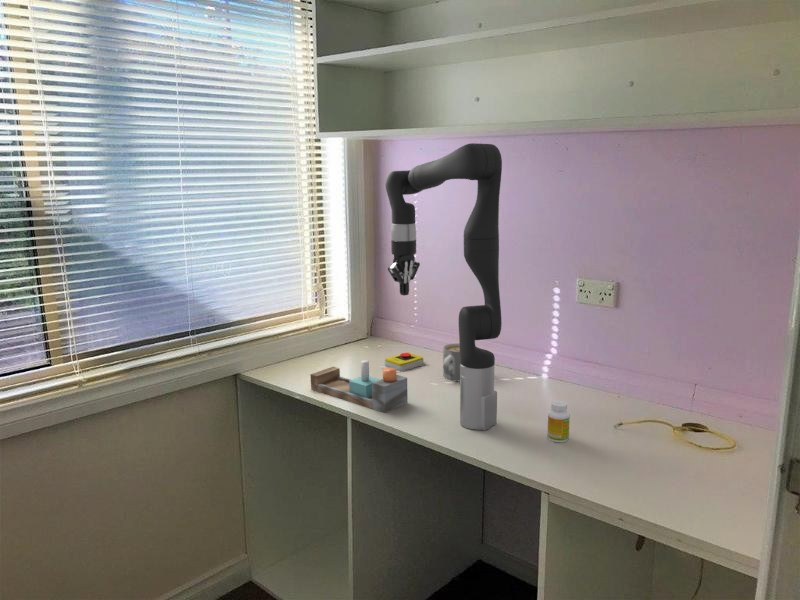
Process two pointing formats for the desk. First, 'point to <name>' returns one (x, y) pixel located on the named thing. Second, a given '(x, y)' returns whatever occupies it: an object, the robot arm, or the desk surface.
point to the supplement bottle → (558, 422)
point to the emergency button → (403, 362)
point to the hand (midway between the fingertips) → (404, 294)
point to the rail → (382, 397)
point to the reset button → (389, 374)
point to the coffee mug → (451, 361)
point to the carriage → (363, 382)
